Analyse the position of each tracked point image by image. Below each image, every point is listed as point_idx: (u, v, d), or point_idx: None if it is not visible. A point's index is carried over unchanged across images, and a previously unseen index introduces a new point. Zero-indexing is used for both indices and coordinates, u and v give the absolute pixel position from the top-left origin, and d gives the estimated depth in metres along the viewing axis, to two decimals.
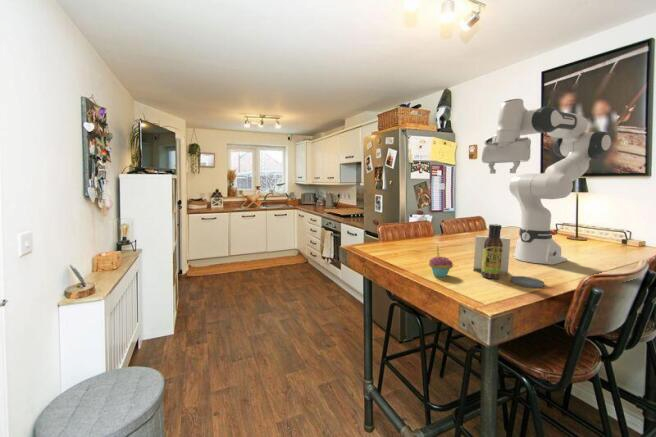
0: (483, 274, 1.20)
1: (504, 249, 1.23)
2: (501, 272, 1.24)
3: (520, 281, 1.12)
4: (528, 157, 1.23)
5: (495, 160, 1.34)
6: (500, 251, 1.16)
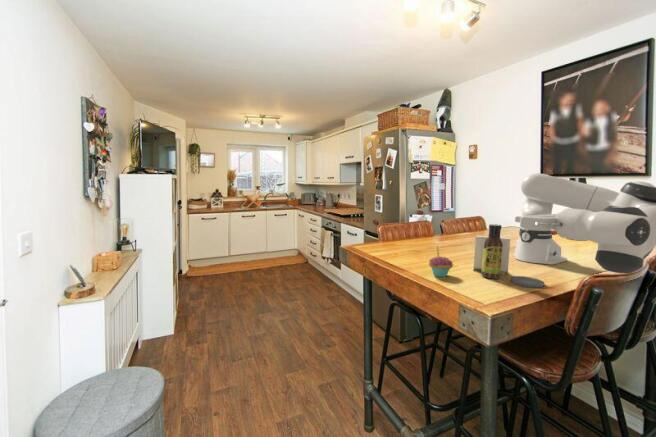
0: (483, 274, 1.20)
1: (504, 249, 1.23)
2: (501, 272, 1.24)
3: (520, 281, 1.12)
4: (522, 223, 0.97)
5: (548, 214, 1.02)
6: (500, 251, 1.16)
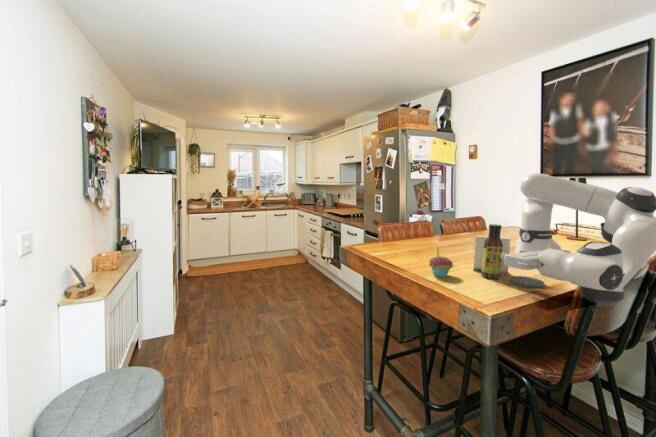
0: (483, 274, 1.20)
1: (504, 249, 1.23)
2: (501, 272, 1.24)
3: (520, 281, 1.12)
4: (506, 262, 1.02)
5: (532, 251, 1.07)
6: (500, 251, 1.16)
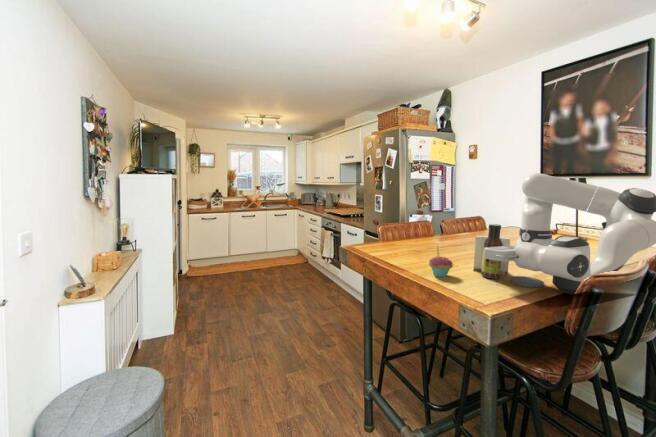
0: (483, 274, 1.20)
1: None
2: (501, 272, 1.24)
3: (520, 281, 1.12)
4: (485, 255, 1.10)
5: (510, 245, 1.15)
6: None
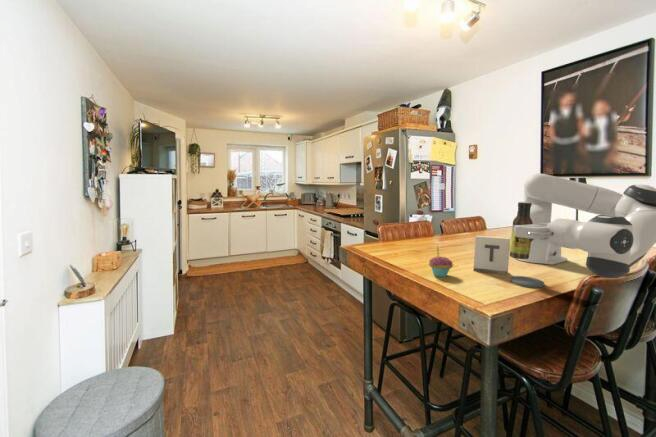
0: (512, 255, 1.14)
1: (504, 249, 1.23)
2: (501, 272, 1.24)
3: (520, 281, 1.12)
4: (516, 232, 1.04)
5: (541, 223, 1.09)
6: None
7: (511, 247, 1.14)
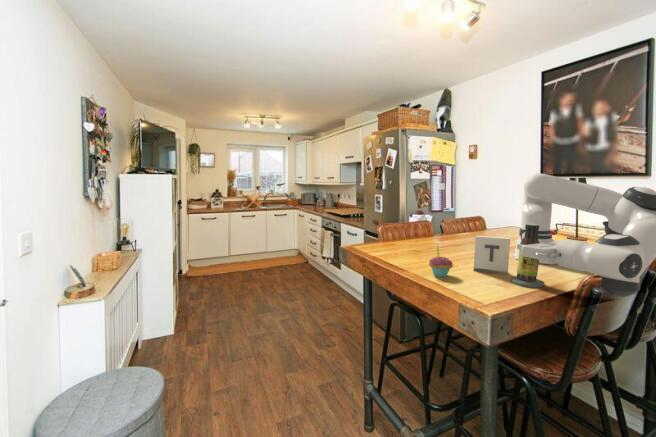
0: (519, 276, 1.13)
1: (504, 249, 1.23)
2: (501, 272, 1.24)
3: (520, 281, 1.12)
4: (523, 252, 1.03)
5: (548, 242, 1.08)
6: None
7: (519, 269, 1.14)
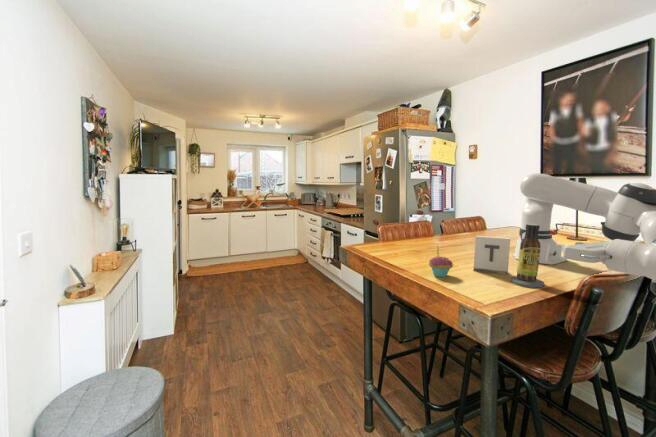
0: (519, 276, 1.14)
1: (504, 249, 1.23)
2: (501, 272, 1.24)
3: (520, 281, 1.12)
4: (566, 254, 0.91)
5: None
6: (538, 252, 1.10)
7: (519, 269, 1.14)
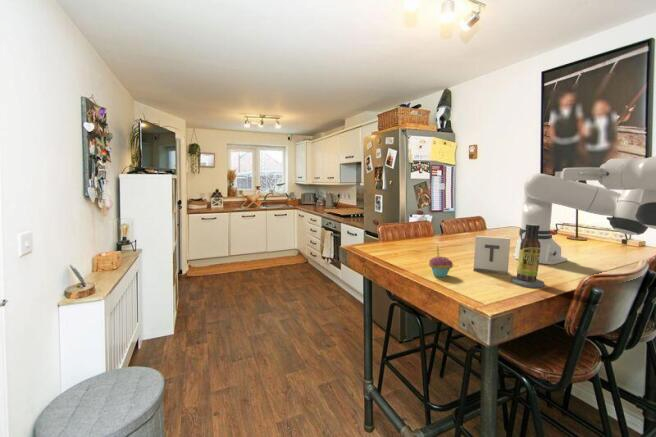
0: (519, 276, 1.14)
1: (504, 249, 1.23)
2: (501, 272, 1.24)
3: (520, 281, 1.12)
4: (565, 176, 0.94)
5: None
6: (538, 252, 1.10)
7: (519, 269, 1.14)
